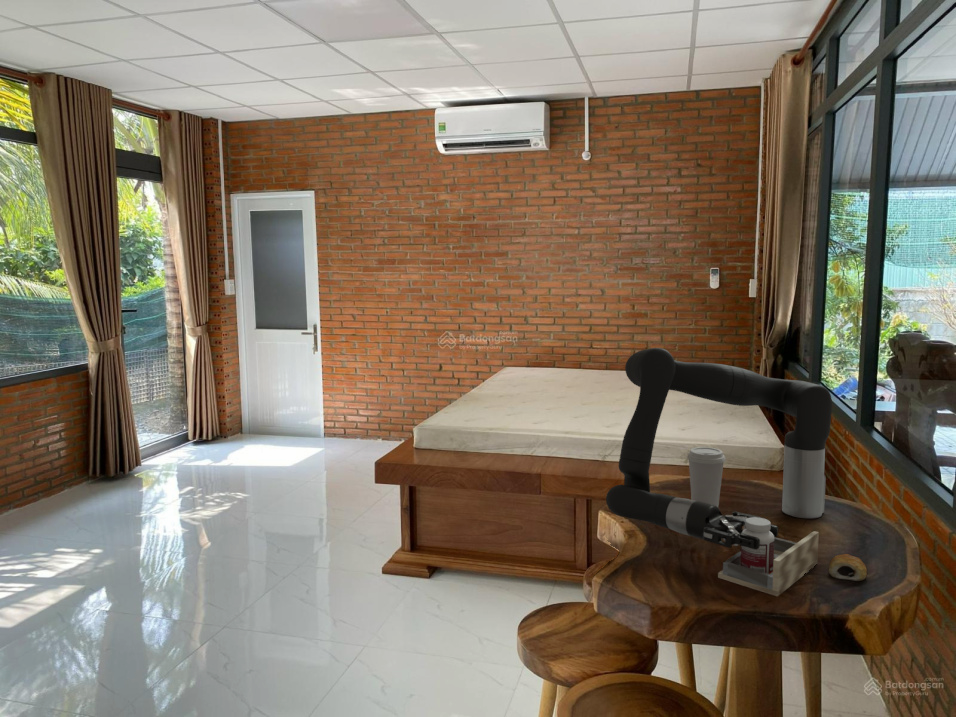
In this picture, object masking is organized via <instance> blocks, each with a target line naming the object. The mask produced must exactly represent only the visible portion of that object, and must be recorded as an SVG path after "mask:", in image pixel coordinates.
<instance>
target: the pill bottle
mask: <svg viewBox="0 0 956 717" xmlns="http://www.w3.org/2000/svg"><path fill="white" fill-rule="evenodd" d="M771 525H772V523H771V521H770V520H769V519H766V518H764V517H761V518H758V517H751V518H747V519H746V522H745V527H746V528H747V529H744V530H743V529H742V530H743V531H742V534H746V535H750V536H753V537H757V538H759V539H760V547H759V548H758V549H752V548H749V547H745V546H741V545H740V551H741V566H744V567H747V568H751V569H754V570H758V571H761V572H764V573H768V574H771V573H772V572H773V562H774V535H773V533H772V532H770V531H769V530H770V528H771Z"/></svg>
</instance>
